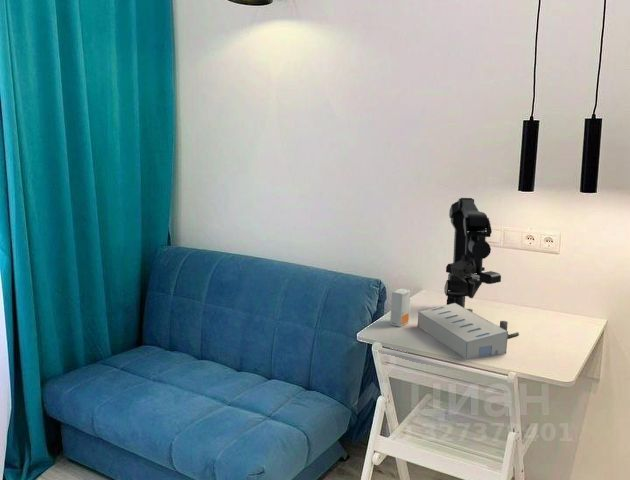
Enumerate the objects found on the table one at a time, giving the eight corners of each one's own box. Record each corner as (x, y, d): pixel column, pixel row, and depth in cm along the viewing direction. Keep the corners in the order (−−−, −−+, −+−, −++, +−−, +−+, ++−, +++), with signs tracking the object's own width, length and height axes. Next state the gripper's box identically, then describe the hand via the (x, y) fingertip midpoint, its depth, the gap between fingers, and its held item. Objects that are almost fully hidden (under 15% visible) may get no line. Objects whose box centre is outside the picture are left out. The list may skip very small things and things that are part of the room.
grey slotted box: (417, 327, 208) (418, 306, 207) (453, 323, 213) (455, 302, 211) (465, 360, 180) (467, 336, 179) (506, 354, 185) (508, 331, 184)
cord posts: (463, 315, 220) (464, 302, 219) (519, 335, 200) (520, 321, 199) (449, 318, 216) (450, 305, 215) (504, 339, 196) (506, 325, 195)
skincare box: (400, 327, 207) (402, 294, 204) (389, 324, 209) (391, 291, 207) (409, 322, 211) (410, 290, 209) (398, 320, 214) (400, 288, 211)
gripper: (435, 249, 198) (433, 294, 201) (480, 260, 183) (476, 309, 186) (458, 245, 204) (456, 290, 208) (503, 256, 189) (500, 303, 192)
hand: (471, 298), depth 198 cm, fingers closed
